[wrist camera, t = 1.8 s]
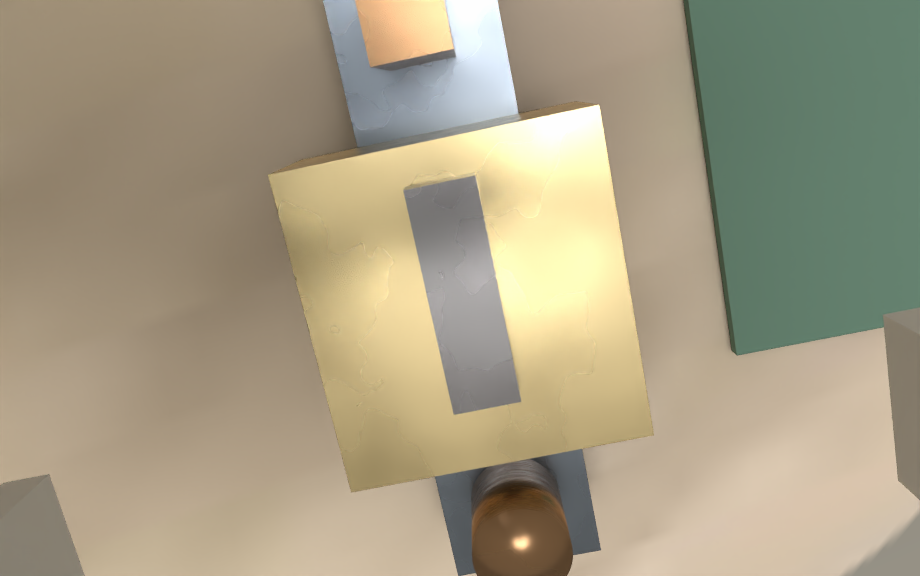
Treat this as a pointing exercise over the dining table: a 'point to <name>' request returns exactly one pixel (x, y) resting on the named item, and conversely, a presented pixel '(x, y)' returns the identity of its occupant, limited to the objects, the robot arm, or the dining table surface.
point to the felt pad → (810, 162)
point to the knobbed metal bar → (427, 110)
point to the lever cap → (467, 295)
